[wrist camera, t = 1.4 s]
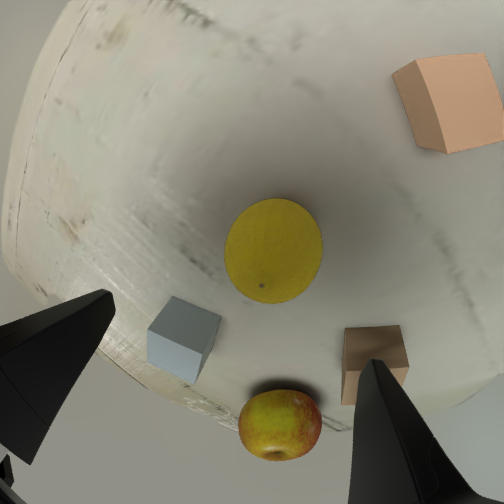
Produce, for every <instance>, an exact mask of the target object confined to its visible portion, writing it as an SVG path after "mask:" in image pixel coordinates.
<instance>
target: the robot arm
mask: <svg viewBox="0 0 504 504" xmlns="http://www.w3.org/2000/svg"><path fill="white" fill-rule="evenodd" d="M115 311H116V309H115V304H114V299H113V295H112V293H111V292H110V291H107V290H105V289H100V290H97V291H94V292H91V293H88V294H86V295H83V296H80V297H78V298H75V299H72V300H69V301H67V302H64V303H62V304H59V305H56V306H53V307H50V308H48V309H45V310H42V311H40V312H37V313H35V314H32V315H29V316H26V317H24V318H23V319H22V318H21V319H18V320H16V321H13V322H11V323H8V324H5V325H2V326H0V504H26V503H25V502H24V501H23V500H22V499H21V498H20V497H19V496H18V495H17V494H16V493H15V492H14V491H13V490H12V489H11V486H12V484H13V482H14V478H13V473H12V468H11V463H10V457H9V455H8V454H7V452H8V451H10V452H12V453H13V454H14V455H16V456H17V457H19V458H20V459H21V460H23V461H24V462H26V463H27V464H29V465H31V463H32V462H33V459H34V457H35V455H36V453H37V451H38V449H39V447H40V445H41V443H42V441H43V439H44V437H45V436H46V434H47V432H48V430H49V427H50V426H51V424H52V422H53V420H54V418H55V417H56V415H57V413H58V411H59V409H60V408H61V406H62V404H63V402H64V401H65V399H66V397H67V396H68V394H69V392H70V391H71V388H72V387H73V386H74V384H75V382H76V381H77V379H78V377H79V376H80V374H81V372H82V371H83V369H84V368H85V366H86V364H87V363H88V361H89V360H90V358H91V357H92V355H93V353H94V352H95V350H96V349H97V347H98V345H99V344H100V342H101V340H102V338H103V336H104V334H105V332H106V330H107V328H108V327H109V325H110V323H111V321H112V319H113V317H114V315H115ZM348 504H504V502H500V501H496V500H492V499H489V498H486V497H482V496H481V495H479V494H477V493H476V492H475V491H473V489H472V488H471V487H470V486H469V485H468V483H467V482H466V481H465V479H464V478H463V477H462V475H461V474H460V473H459V471H458V470H457V469H456V468H455V466H454V465H453V463H452V462H451V461H450V459H449V458H448V457H447V456H446V454H445V452H444V451H443V449H442V448H441V446H440V445H439V443H438V441H437V440H436V438H435V437H434V436H433V434H432V432H431V431H430V429H429V427H428V426H427V424H426V423H425V421H424V420H423V418H422V417H421V415H420V414H419V412H418V411H417V409H416V408H415V406H414V405H413V403H412V402H411V400H410V399H409V397H408V396H407V394H406V393H405V391H404V390H403V388H402V387H401V385H400V384H399V383H398V381H397V380H396V378H395V377H394V375H393V374H392V372H391V371H390V370H389V368H388V367H387V365H386V364H385V363H384V361H383V360H382V359H376V358H371V359H369V360H368V362H367V364H366V365H365V367H364V368H363V370H362V372H361V373H360V376H359V380H358V389H357V398H356V406H355V414H354V429H353V452H352V468H351V479H350V489H349V498H348Z"/></svg>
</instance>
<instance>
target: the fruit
mask: <svg viewBox="0 0 504 504" xmlns="http://www.w3.org/2000/svg"><path fill="white" fill-rule="evenodd" d="M238 427H239V435H240V438H241V441H242V443H243V445H244V446H245V447H246V449H247V450H248V451H249V452H250V453H252V454H253V455H255V456H257V457H259V458H262V459H266V460H269V461H285V460H290V459H294V458H298V457H301V456H302V455H305V454H306V453H308V452H309V451H310V450H311V449H312V448H313V447H314V445H315V444H316V442H317V440H318V438H319V435H320V433H321V428H322V417H321V412H320V410H319V408H318V406H317V404H316V403H315V402H314V400H313V399H312V398H310V397H309V396H308V395H306V394H304V393H302V392H299V391H295V390H285V389H280V390H272V391H268V392H264V393H261V394H259V395H256V396H254V397H253V398H251V399H250V400H249V401H248V402H247V403H246V404H245V405H244V407H243V408H242V410H241V413H240V417H239V422H238Z"/></svg>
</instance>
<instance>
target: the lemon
mask: <svg viewBox="0 0 504 504" xmlns="http://www.w3.org/2000/svg"><path fill="white" fill-rule="evenodd" d="M322 251H323V243H322V237H321V232H320V230H319V227H318V225H317V223H316V221H315V219H314V218H313V217H312V216H311V214H310V213H309V212H308V211H307V210H306V209H304V208H303V207H302V206H300V205H299V204H297V203H295V202H292V201H290V200H286V199H279V198H274V199H266V200H263V201H260V202H257V203H255V204H253V205H251V206H250V207H249V208H247V209H246V210H244V211H243V212H242V213H241V214H240V215H239V216H238V218H237V219H236V220H235V222H234V223H233V225H232V226H231V228H230V231H229V234H228V236H227V239H226V243H225V253H224V260H225V266H226V271H227V273H228V275H229V277H230V280H231V281H232V283H233V284H234V285H235V287H236V288H237V289H238V290H239V291H240V292H241V293H242V294H244V295H245V296H247V297H249V298H250V299H252V300H255V301H258V302H261V303H269V304H276V303H283V302H285V301H288V300H291V299H293V298H295V297H297V296H298V295H299V294H301V293H302V292H303V291H305V289H306V288H307V287H308V286H309V285H310V283H311V282H312V281H313V279H314V278H315V276H316V273H317V271H318V269H319V266H320V264H321V259H322Z"/></svg>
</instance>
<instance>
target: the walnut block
mask: <svg viewBox="0 0 504 504" xmlns="http://www.w3.org/2000/svg"><path fill="white" fill-rule="evenodd" d="M371 358H376V359H382V360H383V361H384V363H385V364H386V365H387V367H388V368H389V370H390V371H391V372H392V374H393V375H394V377H395V378H396V380H397V381H398V383H399V384H400V385H401V387H402V385H403V383H404V380H405V377H406V375H407V372H408V369H409V363H408V358H407V354H406V350H405V346H404V342H403V338H402V334H401V330H400V326H399V325H395V326H380V327H360V328H345V337H344V348H343V358H342V392H341V405H356V398H357V389H358V380H359V376H360V373H361V372H362V370H363V368H364V367H365V365H366V364H367V362H368V360H369V359H371Z"/></svg>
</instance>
